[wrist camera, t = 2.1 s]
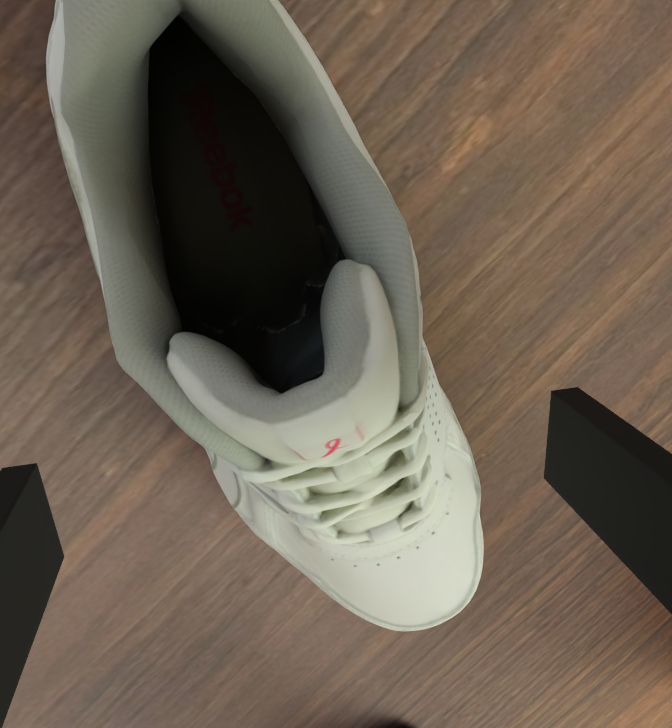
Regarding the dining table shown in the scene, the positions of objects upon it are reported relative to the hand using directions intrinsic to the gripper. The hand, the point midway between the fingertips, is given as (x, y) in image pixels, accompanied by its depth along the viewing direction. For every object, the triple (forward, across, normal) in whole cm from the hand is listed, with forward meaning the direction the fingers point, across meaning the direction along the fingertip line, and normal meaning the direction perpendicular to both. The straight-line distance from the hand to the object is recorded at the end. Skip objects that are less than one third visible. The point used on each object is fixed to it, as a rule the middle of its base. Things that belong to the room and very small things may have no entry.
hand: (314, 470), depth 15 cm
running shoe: (+11, 0, 0) cm, 11 cm away
